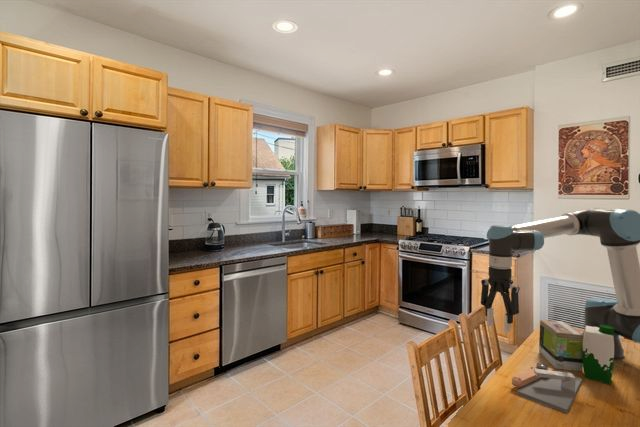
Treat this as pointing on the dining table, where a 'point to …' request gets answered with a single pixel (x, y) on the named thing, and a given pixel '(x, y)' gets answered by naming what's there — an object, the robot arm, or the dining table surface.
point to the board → (550, 393)
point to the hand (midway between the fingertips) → (498, 328)
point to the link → (526, 377)
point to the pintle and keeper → (557, 377)
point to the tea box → (561, 345)
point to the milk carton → (598, 353)
